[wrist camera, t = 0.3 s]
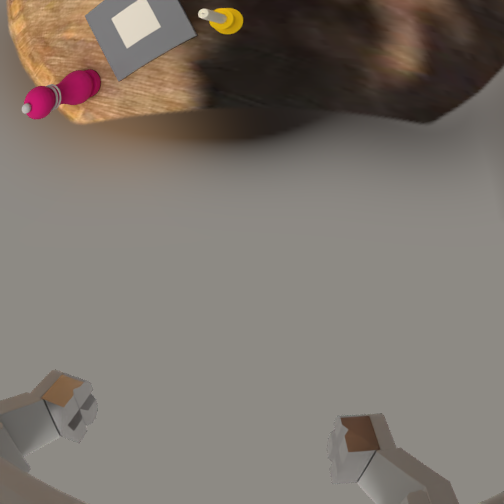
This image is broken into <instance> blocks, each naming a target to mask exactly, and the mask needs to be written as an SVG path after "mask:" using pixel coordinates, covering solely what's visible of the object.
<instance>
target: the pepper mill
mask: <svg viewBox="0 0 504 504" xmlns="http://www.w3.org/2000/svg"><path fill="white" fill-rule="evenodd" d="M100 83H101V81H100V77H99V75H98V74H97V72H95V71H94V70H85V71H81V70H78V71H74V72H72V73H70V74H68V75H67V76H66V77H65V78H64V79H63V80H62V81H61V82H60V83H59V84H57V85H53V84H51V85H48V86H38V87H35V88H34V89H32V90H31V91H30V92H29V93H28V94H27V96H26V99H25V101H24V105H23V106H22V112H23V113H25V114H27V115H28V116H29V117H30V118H32V119H41V118H44V117H46V116H47V115H48V114H49V113H50V112H51V111H52V110H55V109H56V108H58V106H59V105H60V104H69V105H77V104H80V103H83V102H85V101H86V100H87V99H88V98H89V97H92V96H94V95H95V94H96V93H97V92H98V90H99V88H100Z"/></svg>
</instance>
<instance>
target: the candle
mask: <svg viewBox="0 0 504 504" xmlns="http://www.w3.org/2000/svg"><path fill="white" fill-rule="evenodd" d="M198 16H199V17H200V18H202V19H205V20H209V23H210V25H211V26H212V27H213V28H215V29H216V30H217V31H218V32H220V33H222V34H233V33H235V32H237V31H238V30H239V29H240V28H241V27H242V25H243V17H242V15H241V13H240V12H239V11H237V10H235V9H233V8H219V9H216V10H214V11H212V10H209V9H201V10H200V11H199V13H198Z"/></svg>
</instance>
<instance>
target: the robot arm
mask: <svg viewBox="0 0 504 504" xmlns="http://www.w3.org/2000/svg"><path fill="white" fill-rule="evenodd" d="M92 391H93V388H92V385H91V383H90V382H88V381H86V380H83V379H81V378H78V377H75V376H72V375H69V374H67V373H63V372H61V371H58V370H52V371H51V372H50V373H49V374H48V375H47V376H46V377H45V378H44V379H43V380H42V381H41V382H40V383H39V384H38V386H36V388H35V389H34V390H33V391H32V392H31V393H23V394H20V395H17V396H14V397H11V398H8V399H5V400H1V401H0V504H88V503H86V502H84V501H81V500H79V499H77V498H74V497H72V496H70V495H68V494H66V493H64V492H62V491H60V490H58V489H56V488H54V487H52V486H50V485H48V484H46V483H44V482H42V481H41V480H39V479H37V478H35V477H34V476H32V475H30V474H28V472H29V471H30V466H29V465H28V463H27V462H26V460H25V459H24V456H26V455H28V454H30V453H32V452H34V451H36V450H38V449H39V448H41V447H43V446H45V445H47V444H49V443H50V442H52V441H54V440H56V439H57V438H59V437H60V436H62V437H64V438H67V439H69V440H72V441H74V442H77V443H80V442H81V440H82V439H83V437H84V435H85V434H86V432H87V427H86V426H87V425H89V424H91V423H93V421H94V419H95V418H96V414H97V411H98V408H97V401H96V399H95V398H94V397H93V395H92V394H91V392H92ZM334 428H335V430H334V431H332V432H331V433H330V436H329V438H328V445H327V453H328V458H329V459H330V460H331V461H332V464H331V467H330V474H331V481H332V484H340V483H356V482H358V483H357V484H358V485H359V486H360V487H361V489H362V490H363V491H364V492H365V493H366V494H367V495H368V496H369V497H370V498H371V499H372V500H373V501H374V502H375V503H376V504H459V503H458V500H457V498H456V495H455V493H454V491H453V488H452V486H451V484H450V481H448V480H446V479H445V478H443V477H442V476H440V475H439V474H438V473H436V472H434V471H433V470H432V469H430V468H429V467H427V466H426V465H424V464H423V463H421V462H420V461H419V460H417V459H416V458H414V457H413V456H411V455H410V454H408V453H407V452H406V451H404V450H403V449H402V448H396V445H395V443H394V440H393V437H392V435H391V432H390V430H389V427H388V424H387V422H386V419H385V417H384V415H383V414H382V413H380V414H367V415H366V414H365V415H345V416H337V417H336V419H335V422H334ZM478 504H504V491H503V492H501V493H499V494H497V495H495V496H493V497H491V498H489V499H487V500H485V501H482V502H480V503H478Z"/></svg>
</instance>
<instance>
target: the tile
mask: <svg viewBox="0 0 504 504" xmlns="http://www.w3.org/2000/svg"><path fill="white" fill-rule="evenodd" d="M85 17H86V19H87V21H88V23H89V25H90V27H91V29H92V31H93V33H94V35H95V37H96V39H97V41H98V43H99V45H100V47H101V49H102V51H103V53H104V55H105V57H106V58H107V60H108V62H109V64H110V66H111V68H112V70H113V72H114V74H115V76H116V77H117V79H118V81H121V80H123V79H124V78H126V77H127V76H128V75H130V74H132V73H133V72H135V71H136V70H138V69H139V68H141V67H142V66H144V65H146V64H147V63H149V62H150V61H152V60H154V59H155V58H157V57H159V56H160V55H162V54H164V53H166V52H167V51H169V50H171V49H173V48H175V47H176V46H178V45H180V44H182V43H184V42H186V41H188V40H190V39H192V38H193V37H195V36H197V33H196V31H195V29H194V27H193V26H192V24H191V22H190V20H189V18H188V16H187V14H186V12H185V11H184V9H183V7H182V5H181V3H180V1H179V0H104V1H103V2H102V3H100V4H99V5H98V6H97V7H95V8H94V9H93V10H92V11H90V12H89V13H88V14H87V15H86V16H85Z"/></svg>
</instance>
